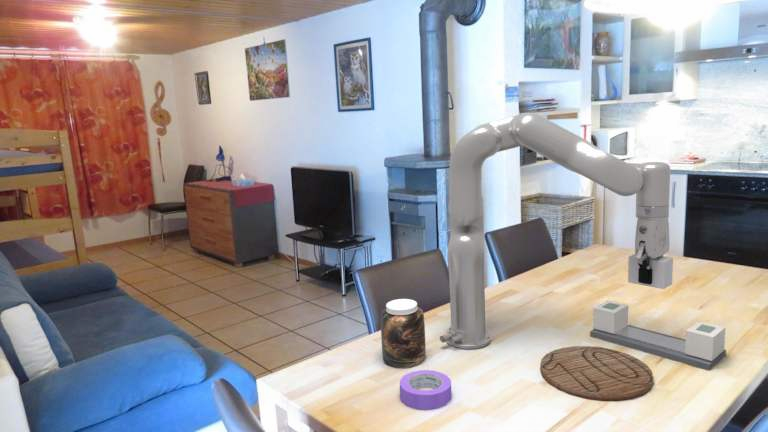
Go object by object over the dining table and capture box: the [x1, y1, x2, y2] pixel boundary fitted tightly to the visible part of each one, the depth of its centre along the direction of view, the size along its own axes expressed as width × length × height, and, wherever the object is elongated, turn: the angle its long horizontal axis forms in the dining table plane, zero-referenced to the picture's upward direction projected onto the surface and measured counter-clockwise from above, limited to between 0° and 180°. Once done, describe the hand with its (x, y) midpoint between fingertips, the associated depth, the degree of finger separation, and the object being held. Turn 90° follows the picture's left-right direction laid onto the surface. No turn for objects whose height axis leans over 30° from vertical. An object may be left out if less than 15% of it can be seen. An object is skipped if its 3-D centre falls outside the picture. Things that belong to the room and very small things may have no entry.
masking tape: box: [399, 369, 452, 411], centre depth 123 cm, size 12×12×4 cm
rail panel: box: [589, 324, 727, 371], centre depth 143 cm, size 11×30×2 cm, turn 41°
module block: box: [627, 253, 674, 290], centre depth 140 cm, size 5×9×7 cm, turn 41°
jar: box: [380, 298, 427, 369], centre depth 142 cm, size 12×12×15 cm
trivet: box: [539, 345, 654, 402], centre depth 129 cm, size 25×25×2 cm
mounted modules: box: [592, 300, 726, 361], centre depth 142 cm, size 8×30×6 cm, turn 41°
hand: (650, 279), depth 140 cm, fingers closed on module block, 5 cm apart
